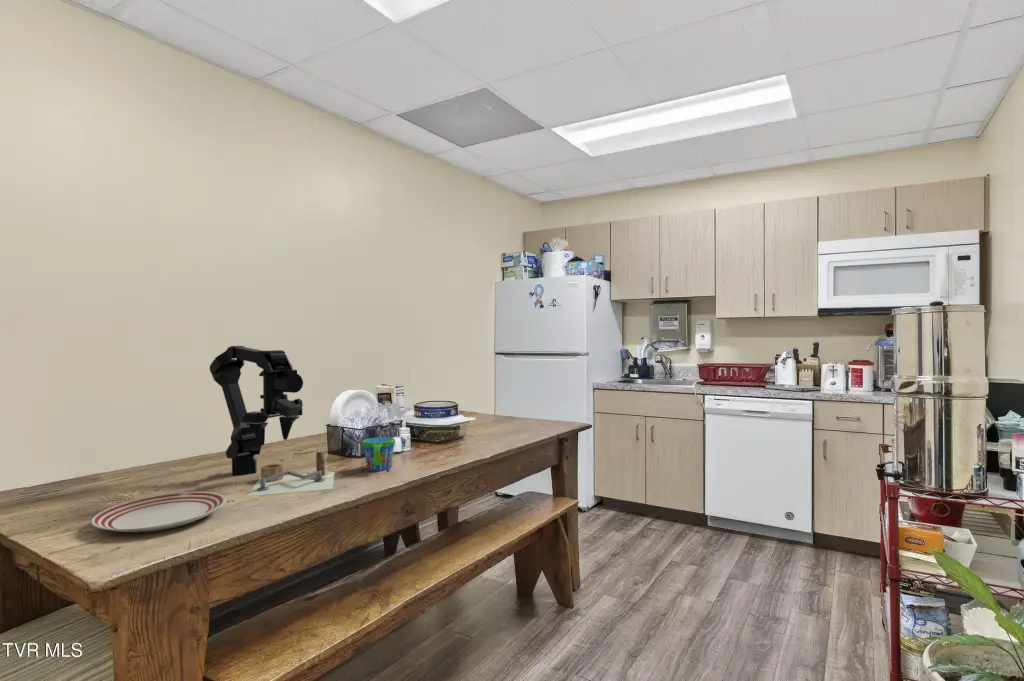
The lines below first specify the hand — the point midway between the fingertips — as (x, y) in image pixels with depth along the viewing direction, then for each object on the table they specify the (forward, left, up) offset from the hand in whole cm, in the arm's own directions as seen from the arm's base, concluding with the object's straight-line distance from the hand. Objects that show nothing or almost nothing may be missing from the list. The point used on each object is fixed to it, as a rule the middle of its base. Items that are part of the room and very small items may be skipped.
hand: (274, 442), depth 170 cm
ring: (-1, -1, -11) cm, 11 cm away
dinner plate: (-22, -31, -13) cm, 39 cm away
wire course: (+6, -8, -12) cm, 15 cm away
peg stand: (+13, -2, -11) cm, 18 cm away
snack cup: (+31, +3, -12) cm, 34 cm away
